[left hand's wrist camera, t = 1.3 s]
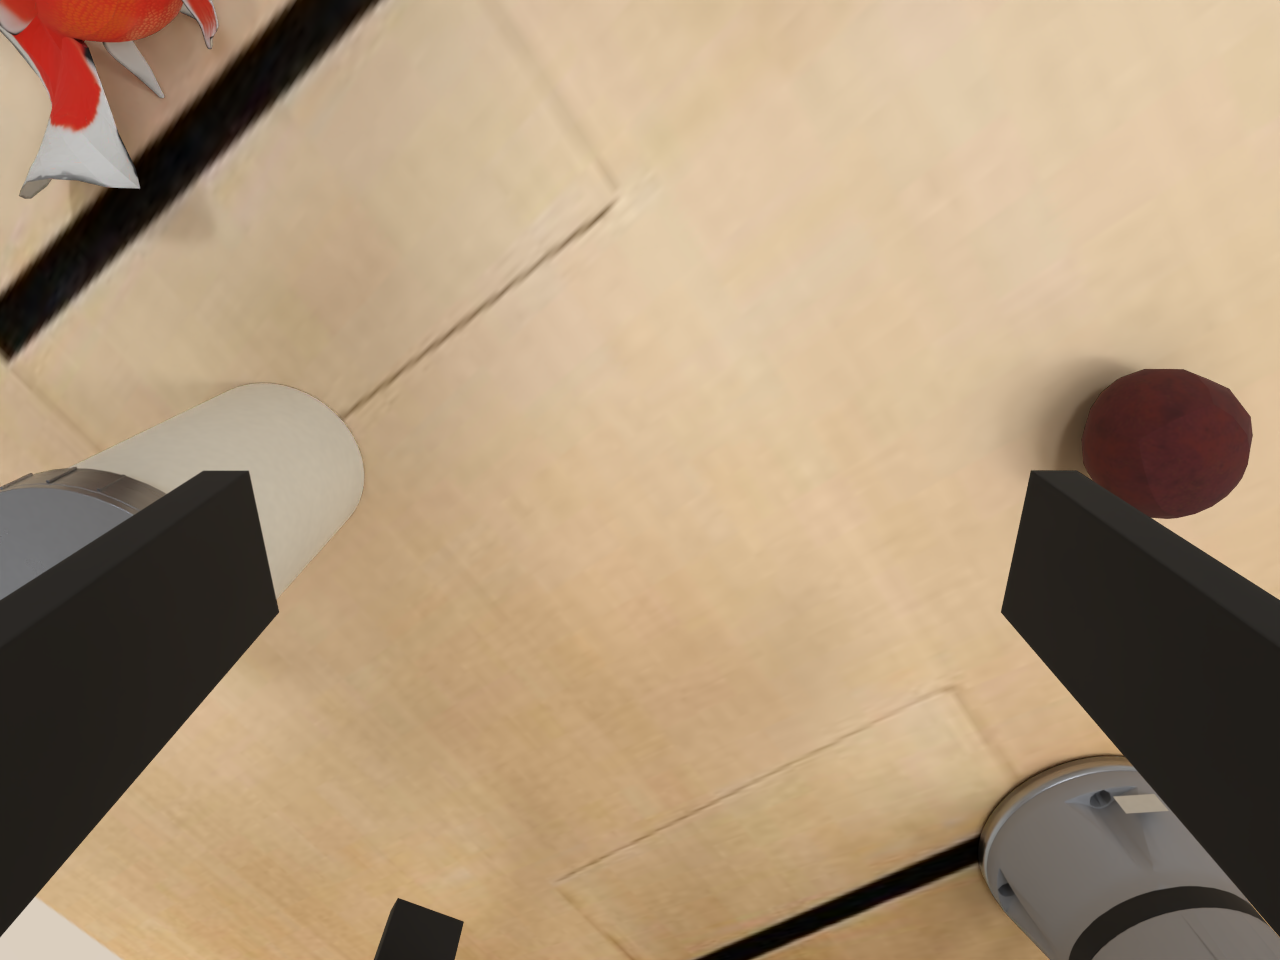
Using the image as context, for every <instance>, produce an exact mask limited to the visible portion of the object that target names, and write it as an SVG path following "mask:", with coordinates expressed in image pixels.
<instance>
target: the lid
mask: <svg viewBox="0 0 1280 960" xmlns="http://www.w3.org/2000/svg"><path fill="white" fill-rule="evenodd" d="M164 495H166V493H164V492H162V491H160V490H159V489H157V488H155V487H153V486H151V485H149V484H146V483H144V482H141V481H139V480H136V479H133V478H131V477H128V476H126V475H124V474H122V475H120V474H117V473H113V472H109V471H102V470H96V469H83V468H77V467H72V468H66V469H55V470H50V471H45V472H41V473H36V474H34V475H33V474H32V473H30V474H28V475H25V476H23V477H21V478H19V479H17V480H15V481H12V482H10V483H8V484H6V485H4V486H2V487H0V600H1V599H3V598H5V597H6V596H8V595H9V594H11V593H12V592H14V591H15V590H17V589H19V588H20V587H22V586H23V585H25V584H26V583H28V582H30V581H31V580H33V579H34V578H36V577H37V576H39V575H41V574H42V573H44V572H45V571H47V570H48V569H50V568H52V567H53V566H55V565H56V564H58V563H59V562H61V561H62V560H64V559H66V558H67V557H69V556H70V555H72V554H73V553H75V552H77V551H78V550H80V549H81V548H83V547H84V546H86V545H88V544H89V543H91V542H92V541H94V540H95V539H97V538H99V537H100V536H102V535H103V534H105V533H106V532H108V531H109V530H111V529H113V528H114V527H116V526H117V525H119V524H120V523H122V522H124V521H125V520H127V519H128V518H130V517H131V516H133V515H135V514H136V513H138V512H139V511H141V510H142V509H144V508H145V507H147V506H149V505H150V504H152V503H153V502H155V501H156V500H158V499H160V498H161V497H163V496H164Z"/></svg>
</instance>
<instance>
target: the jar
mask: <svg viewBox="0 0 1280 960" xmlns="http://www.w3.org/2000/svg"><path fill="white" fill-rule="evenodd" d="M72 467H77V468H83V469H96V470H102V471H109V472H113V473H117V474H120V475H122V474H124V475H126V476H128V477H131V478H133V479H136V480H139V481H141V482H144V483H146V484H149V485H151V486H153V487H155V488H157V489H159V490H160V491H162V492H164V493H166V494H167V493H169V492H171V491H172V490H174V489H175V488H177V487H178V486H180V485H182V484H183V483H185V482H186V481H188V480H189V479H191V478H192V477H194V476H196V475H197V474H199V473H200V472H202V471H249V473H250V478H251V482H252V487H253V492H254V497H255V501H256V506H257V511H258V515H259V520H260V525H261V530H262V534H263V539H264V544H265V548H266V553H267V558H268V563H269V567H270V572H271V577H272V581H273V586H274V591H275V596H276V600H277V599H278V597H279V596H280V595H281V594H282V593H283V592H284V591H285V590H286V589H287V587H288V586H289V585H290V584H291V583H292V582H293V581H294V580H295V578H296V577H297V576H298V575H299V574H300V573H301V572H302V571H303V569H304V568H305V567H306V566H307V565H308V564H309V563H310V562H311V560H312V559H313V558H314V557H315V556H316V555H317V554H318V553H319V551H320V550H321V549H322V548H323V547H324V546H325V545H326V544H327V542H328V541H329V540H330V539H331V538H332V537H333V536H334V535H335V534H336V532H337V531H338V530H339V529H340V528H341V527H342V526H343V525H344V523H345V522H346V521H347V520H348V519H349V518H350V516H351V515H352V514H353V512H354V511H355V509H356V507H357V505H358V504H359V501H360V498H361V495H362V491H363V486H364V467H363V461H362V457H361V453H360V450H359V448H358V445H357V443H356V441H355V439H354V437H353V435H352V433H351V432H350V430H349V429H348V427H347V426H346V425H345V423H344V422H343V421H342V420H341V419H340V418H339V417H338V415H337V414H336V413H334V412H333V411H332V410H331V409H330V408H329V407H328V406H326V405H325V404H324V403H322V402H321V401H319V400H318V399H316V398H314V397H313V396H311V395H309V394H307V393H305V392H302V391H300V390H298V389H295V388H291V387H288V386H285V385H279V384H273V383H255V384H247V385H243V386H239V387H236V388H233V389H231V390H228V391H226V392H224V393H222V394H220V395H218V396H216V397H214V398H212V399H210V400H208V401H206V402H203V403H201V404H199V405H197V406H195V407H193V408H191V409H189V410H187V411H185V412H183V413H181V414H179V415H177V416H174V417H172V418H170V419H168V420H166V421H164V422H162V423H160V424H158V425H156V426H154V427H152V428H150V429H148V430H145V431H143V432H141V433H139V434H137V435H135V436H133V437H131V438H129V439H127V440H125V441H123V442H121V443H119V444H116V445H114V446H112V447H110V448H108V449H106V450H104V451H102V452H100V453H98V454H96V455H94V456H92V457H90V458H87V459H85V460H83V461H81V462H79V463H77V464H75V465H73V466H71V467H69V468H72Z"/></svg>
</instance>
